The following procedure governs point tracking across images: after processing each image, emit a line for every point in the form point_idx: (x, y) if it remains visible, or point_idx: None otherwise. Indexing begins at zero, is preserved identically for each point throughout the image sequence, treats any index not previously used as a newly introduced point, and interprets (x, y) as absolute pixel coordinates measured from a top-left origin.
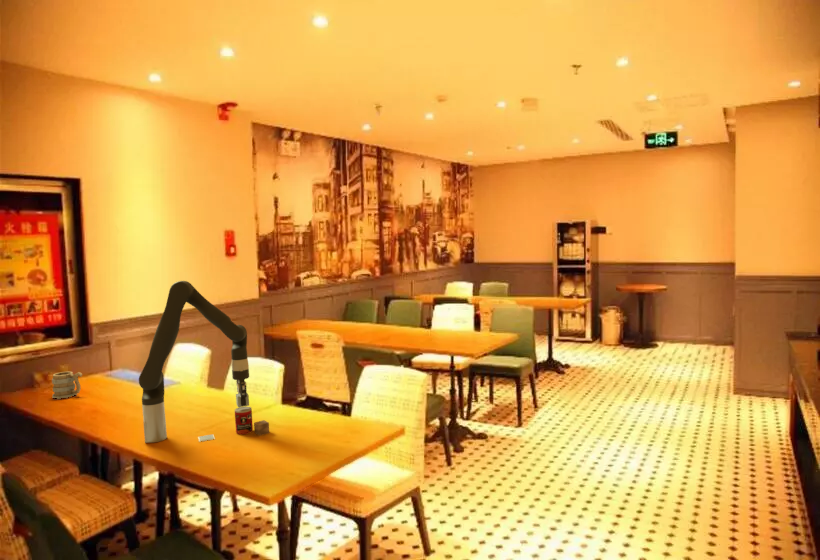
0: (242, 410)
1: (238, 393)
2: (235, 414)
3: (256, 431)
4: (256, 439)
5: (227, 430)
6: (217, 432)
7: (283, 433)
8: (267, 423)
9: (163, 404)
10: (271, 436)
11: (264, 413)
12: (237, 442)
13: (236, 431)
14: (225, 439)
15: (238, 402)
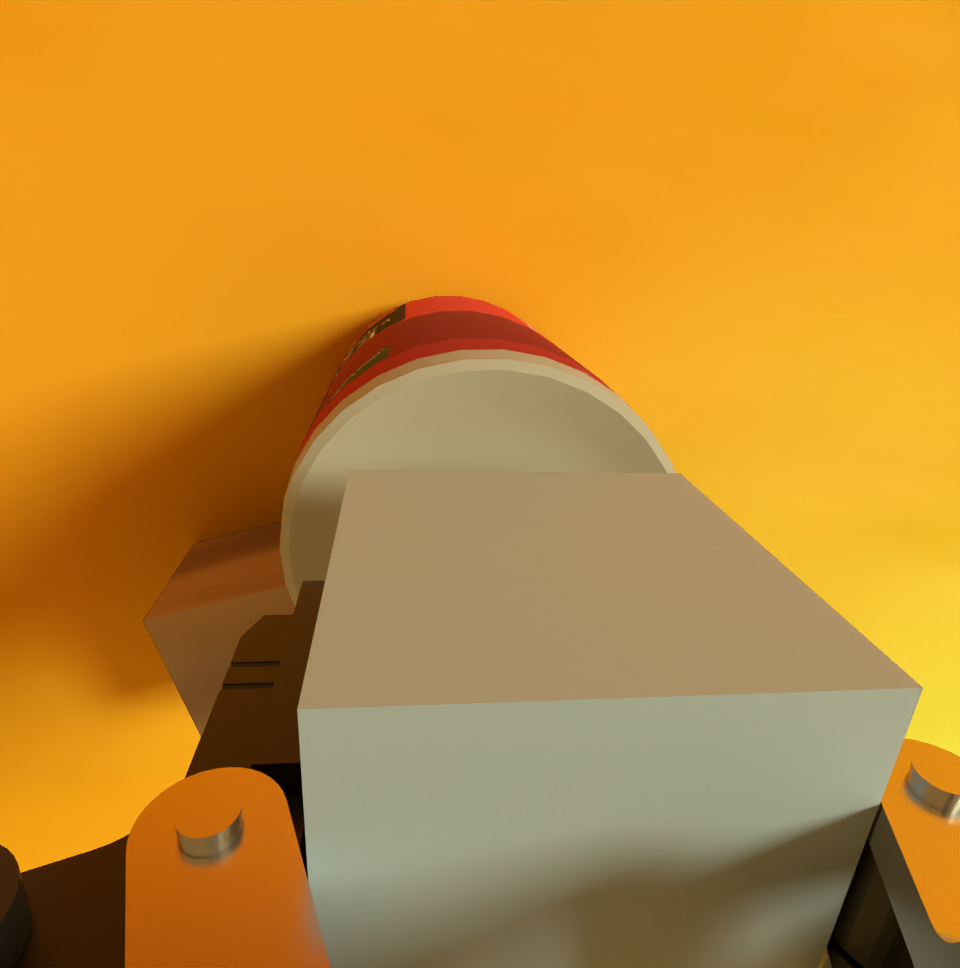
0: None
1: (929, 798)
2: (428, 343)
3: (263, 540)
4: (46, 488)
5: (658, 201)
6: (668, 30)
7: (146, 769)
8: (201, 727)
9: None
10: (93, 655)
11: (951, 702)
12: (11, 229)
13: (427, 298)
14: (245, 79)
15: (332, 560)
